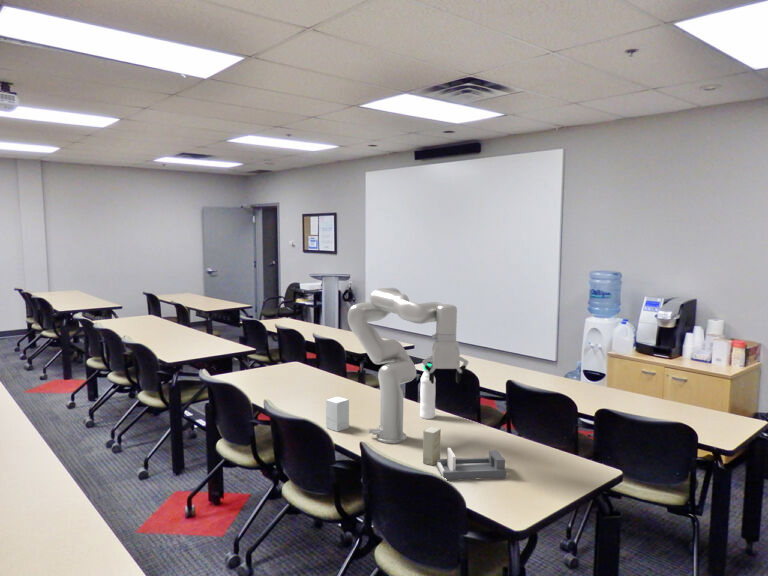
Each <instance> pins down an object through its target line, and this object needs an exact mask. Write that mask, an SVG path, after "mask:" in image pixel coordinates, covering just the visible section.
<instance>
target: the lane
mask: <svg viewBox="0 0 768 576" xmlns="http://www.w3.org/2000/svg"><path fill="white" fill-rule="evenodd" d="M473 463H492V466H473V467H456V468H455V471H450V469H449V467H448V465H447V458H440V459H437V463H436V468H437V470H438V472H439V474H440V477H441V476H443V477H444V478H446V479H447V480H446V481H457V480H456V479H468V480H477V479H476V478H494V479H506V478H507V470H506V459H505V458H504V457H503V455H502V454H501V453H500V451H499V450H498V449H489V450H488V457H485V456H484V457H466V458H465V457H460V458H457V457H456V464H473Z"/></svg>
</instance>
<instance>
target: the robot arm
mask: <svg viewBox="0 0 768 576" xmlns="http://www.w3.org/2000/svg"><path fill="white" fill-rule="evenodd" d="M391 313H392V314H396V315H397V316H398V317H400V319H402V320H404V321H407V322H410V323H414V324H419V325H423V324H427V323H434V322H435V323H436V325H435V326H436V327H435V330H436V331H435V333H434V334H431V339H434V341H433V345H432V349H431V350H432V351H431V356H428V357H427V358H425V359H423V360H422V364H423V365H424V366H425V368H426V369H427V370H428V371H429V381H431V383H432V384H433V383H434V377H435V373H434V372H435V370H437V369H438V370H456V371H455V383H456V384H458V385H459V384H460V381H462V374H463V371H464V370H465V369H466V368H467V366H468V364H469V360H467V359H466V358H464V357H462V356H460V343H459V341H457V323H458V321H457V318H458V315H457V314H458V308H457V306H456V305H454V304H444V303H441V302H436V301H433V302H432V301H431V302H422V303H417V302H412V301H410V298H409V296H408V295H406V294H405V293H402V292H401V291H400V290H399V289H398V288H395V287H381V288H376V289H374V290H373V291H372V292H371V293H370V296H369V302H366V301H365V302H360V303H356V304H353V305H351V307H349V310H348V312H347V323H348V326H349V329H350V330H351V332H352V333H353V334H354V336H355V337H356V338H357V339H358V341H359V342H360V344H361V346H362V347H363V349H364V351H365V352H366V354H367V356H368V357H369V360H370V361H371V362H372V363H373V364H375V365H382V366H381V367H380V368H379V369H378V374H377V377H378V378H377V379H378V383H379V391H380V392H379V395H380V397H379V398H380V399H379V400H380V401H379V402H380V406H379V407H380V408H379V409H380V410H379V411H380V415H379V421H380V422H379V425H378V427H376V428H368V434H372V436H376V437H375V438H376V440H377V441H379V442H381V443H384V444H400V443H403V442H405V441H406V440H407V439H408V438H407V434H406V433H405V432H404V393H403V390H402V387H401V385H402V384H405V383H406V384H407V383H410V382H412V381H413V380H414V379H415V378H416V376H417V368H416V366H415V363H414V361H413V360H412V358H411V357H410V355H409V354H408V352H407V351H406V349H405V348H404V346H403V344H402V343H401V342H399V341H398V340H396V339H383V338H382V337H381V335H380V334H379V332H378V331H377V329H375V328H374V327H373V326H372V325H370V324H369V323H370V322H371V323H372V322H377V321H381V320H383V319H384V318H386V317H387V316H388V315H390V314H391ZM429 362H431V364H432V366H431V367H429V366H428V365H427V364H429ZM461 362H462V365H461Z"/></svg>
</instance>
